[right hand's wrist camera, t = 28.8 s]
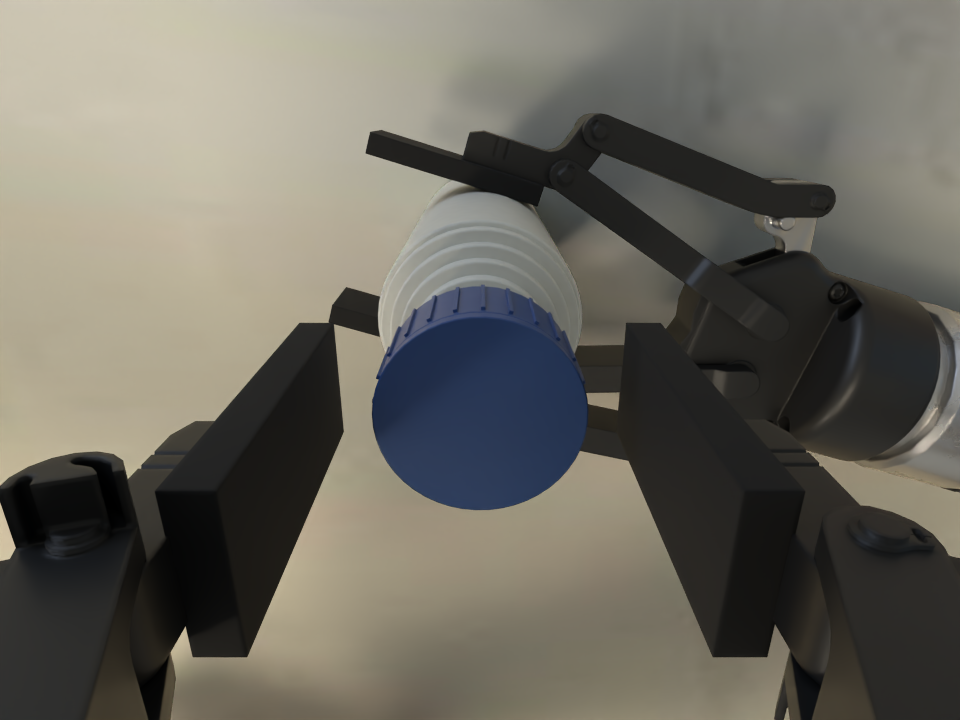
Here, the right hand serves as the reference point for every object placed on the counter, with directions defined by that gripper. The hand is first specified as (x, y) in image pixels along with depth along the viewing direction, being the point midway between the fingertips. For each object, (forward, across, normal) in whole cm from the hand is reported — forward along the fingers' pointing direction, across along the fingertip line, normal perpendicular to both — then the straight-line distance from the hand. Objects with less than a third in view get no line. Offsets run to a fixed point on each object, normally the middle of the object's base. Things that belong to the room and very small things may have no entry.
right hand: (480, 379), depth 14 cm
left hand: (+12, -5, +2) cm, 13 cm away
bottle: (+18, 0, 0) cm, 18 cm away
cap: (-2, 0, 0) cm, 2 cm away
